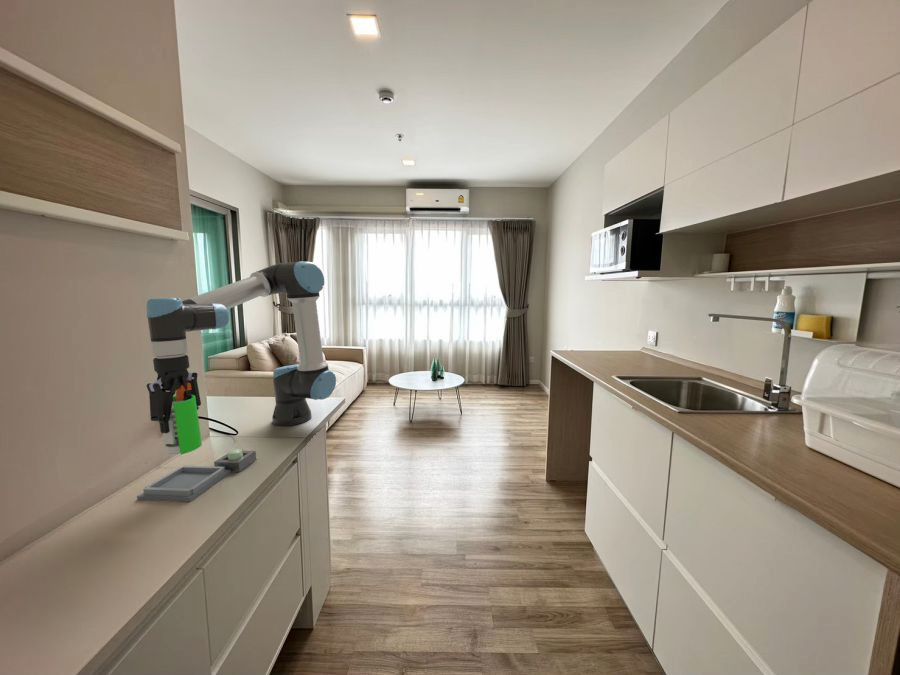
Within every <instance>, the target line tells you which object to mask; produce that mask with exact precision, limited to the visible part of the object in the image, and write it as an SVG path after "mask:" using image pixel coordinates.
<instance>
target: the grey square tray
mask: <svg viewBox="0 0 900 675" xmlns="http://www.w3.org/2000/svg"><path fill="white" fill-rule="evenodd" d="M231 473H232V472H231V470H227V469H225V467H217V466H213V465H212V466H211V465H208V466H207V465H183V466H179V467H178V468H175V469H174V470H172V471H171V472H169V473H167V474H166V475H164V476H162V477H160V478H159V479H157V480H155V481H153V482H152V483H150V484H148V485H146V486H145V487H144V488H143V492H141V493H140V494H138V495H137V496H136V498H137V500H138V501H157V502H159V501H160V502H161V501H162V502H163V501H164V502H184V503H190V502H192V501H193V500H195V499H197V498H198V497H199V496H201V495H202V494H203V493H204V492H206V491H207V490H209V489H210V488H212V487H213V486H214V485H216V484H217V483H218V482H220V481H222V480H223V479H224V478H226V477H227V476H229V475H230V474H231Z"/></svg>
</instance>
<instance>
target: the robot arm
mask: <svg viewBox="0 0 900 675" xmlns="http://www.w3.org/2000/svg"><path fill="white" fill-rule="evenodd" d="M324 276H325V275H324V273H323V271H322V269H321V268H320V267H319V266H318V264H315V263H314V262H311V261H301V260H300V261H293V262H280V263H276V264H271V265H270V266H267V267H264V268H262V269H259V270H258V271H257V270H256V271H255V272H252V273H250V275H249V277H246V278H242V279H240V280H238V281H235V282H232V283H229V284H226V285H224V286H221V287H219V288H218V287H217V288H215V289H212V290H210V291H207V292H203V293H201V294H198V295H195V296H192V297H190V298H187V299H184V300H182V298H180V297H153V298H149V299H147V301H146V318H147V321H148V329H149V331H148V332H149V336H150V346H151V353H152V356H153V357H155V358H153V359H152V362H153V370H154V372H156V374H157V377H156V381H154V382H152V383H147V384H146V388H147V390H148V394H149V410H150V411H149V414H150V420H151V422H158V423H159V430H160V433H161V434H162V438H163V444H164V445H165V444H175V443H176V441H175V433H174V424H173V420H170V414H171V407H172V401H173V396H175V395H176V390H177V389H181V388H180V387H181V385H183V386H184V388H185V390H186V391H184V393H183V396H184V400H188V399H190V396H191V395H195V397H196V404H197V411H198V410H199V409H200V406H201V404H202V403H201V402H202V400H201V397H200V396H201V395H200V390H199V386H198V373H197V372H189V371H188V369H189V368H190V360H189V358H190V357H189V355H188V354H187V353H188V352H189V349H188V342H187V341H188V340H187V335H186V334H187V333H189V332H197V331H207V330H217V329H223V328H225V327H226V326H227V325H228V324H229V321H230V315H229V310H230V309H233V308H234V307H237V306H239V305H241V304H244V303H247V302H249V301H251V300H253V299H256V298H258V297H262V298H266V297H269V296H270V295H271V296H272V295H276V294H277V295H278V294H286V299H287V300H288V301H289V302H290V303H291V306H292V312H293V319H294V326H295V332H296V340H297V347H298V348H297V349H298V355H299V361H300V362H299V363H295V364H290V365H284V366H281V367H277V368H275V369H273V373H272V376H273V378H272V380H273V389H274V399H275V405H274V409H273V414H272V420H271V421H272V424H273V425H275V426H278V427H279V426H281V427H282V426H283V427H284V426H285V427H286V426H294V425H298V424H303V423H305V422H307V421H309V420H310V419H312V410H311V408H310V406H309V404H308V402H307V400H308V399H311V400H313V401H317V400H320V401H321V400H326V399H328V398H329V397H330V396H331V395H332V394H333V392H334V391H335V388H336V385H337V377H336V374H335V373H334V371H331V370H329V363H327V362H326V361H325V360H324V355H323V348H322V347H323V346H322V340H321V331H320V322H319V314H318V306H317V300H318V299H319V298H320V297H321V296H320V292H321V291H322V290H323V288H324V286H325V277H324ZM188 383H191V389H192V390H187V389H188V387H187V384H188Z"/></svg>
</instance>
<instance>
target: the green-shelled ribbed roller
mask: <svg viewBox="0 0 900 675" xmlns="http://www.w3.org/2000/svg"><path fill="white" fill-rule="evenodd" d="M187 387H188V389H187V390H192V389H191V383H188V384H187ZM180 388H181V389H177V390H176V393H175V395H173V401H172V407H171V414H170V420H173V424H174V433H175V441H176V443H175V444H164V447H165V453H166V455H167V454H168V455H179V454H180V455H185V454H188V453H190V452H193V451H195V450H197V449H199V448H200V447H201V446H202V445H203V443H202V436H201V428H200V423H199V422H200V420H199V419H200V418H199V414H198V413H199V412H198V410H197V407H198V406H197V404H196V397H195V395H191V396H190V399H188V400H184V396H183V393H184V391H186V390H185V388H184V386H183V385H181V387H180Z"/></svg>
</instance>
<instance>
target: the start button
mask: <svg viewBox="0 0 900 675" xmlns="http://www.w3.org/2000/svg"><path fill="white" fill-rule="evenodd" d="M243 451H244V450H243V449H241V448H237V449H233V450H230V451H228V452H227V453H228V460H239V459H240V458H241V457H243Z"/></svg>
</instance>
